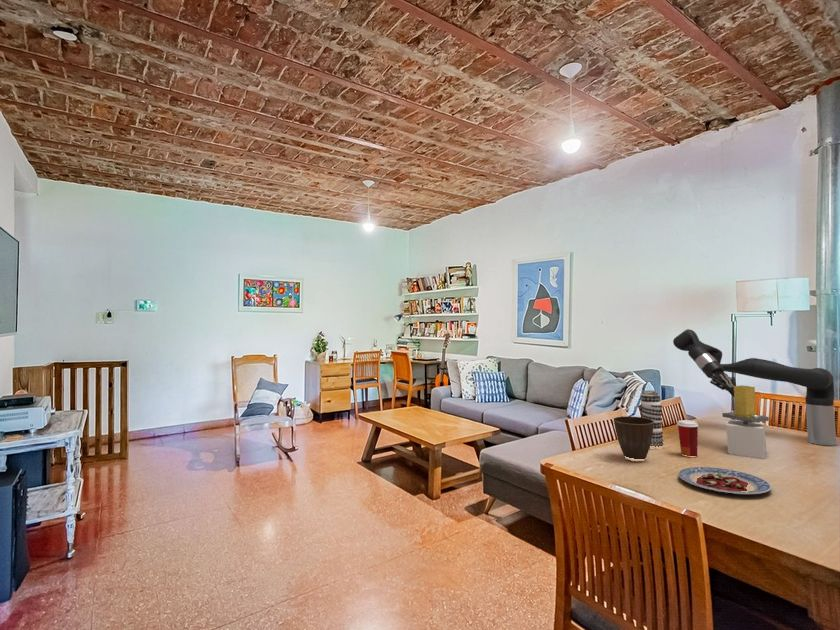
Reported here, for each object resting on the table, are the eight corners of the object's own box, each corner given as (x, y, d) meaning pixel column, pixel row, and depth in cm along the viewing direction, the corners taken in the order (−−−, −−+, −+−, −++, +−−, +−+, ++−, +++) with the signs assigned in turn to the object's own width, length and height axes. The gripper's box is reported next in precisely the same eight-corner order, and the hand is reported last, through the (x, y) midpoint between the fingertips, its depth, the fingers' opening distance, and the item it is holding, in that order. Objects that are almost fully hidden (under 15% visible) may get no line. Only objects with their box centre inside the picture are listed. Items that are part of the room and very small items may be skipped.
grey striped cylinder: (665, 445, 194) (662, 390, 195) (663, 450, 187) (661, 392, 188) (642, 443, 199) (639, 389, 200) (640, 448, 192) (637, 391, 193)
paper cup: (698, 454, 180) (696, 420, 181) (701, 459, 173) (699, 424, 174) (677, 452, 184) (675, 419, 184) (679, 457, 177) (677, 423, 177)
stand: (731, 447, 189) (729, 416, 189) (766, 451, 181) (764, 419, 181) (727, 453, 180) (726, 421, 180) (764, 458, 172) (762, 424, 172)
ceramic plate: (778, 506, 128) (778, 496, 128) (677, 491, 141) (677, 482, 141) (765, 480, 150) (765, 471, 150) (679, 469, 163) (678, 461, 163)
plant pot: (663, 464, 168) (661, 423, 169) (625, 465, 168) (623, 424, 169) (644, 453, 183) (642, 416, 184) (609, 454, 183) (607, 416, 184)
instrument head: (722, 416, 185) (721, 385, 185) (739, 414, 188) (738, 383, 188) (751, 422, 174) (750, 389, 174) (768, 420, 177) (767, 387, 177)
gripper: (714, 370, 200) (742, 400, 188) (693, 371, 196) (719, 402, 184) (725, 359, 195) (754, 389, 183) (703, 360, 192) (731, 391, 179)
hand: (737, 396), depth 184 cm, fingers closed
